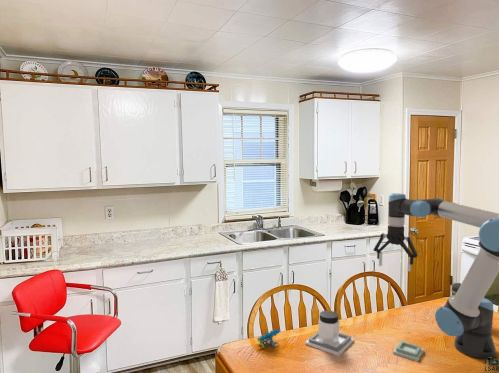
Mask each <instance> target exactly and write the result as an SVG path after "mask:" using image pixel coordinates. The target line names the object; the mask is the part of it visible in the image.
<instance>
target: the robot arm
mask: <svg viewBox="0 0 499 373" xmlns="http://www.w3.org/2000/svg"><path fill="white" fill-rule="evenodd" d="M387 202H388V203H387V204H388V208H387V209H388V216H387V233H384V232H382V233H381V234H380V237H379V240H378V241H377V242H376V244H375V246H374V248H373V251H374V252H376V255H377V256H376V257H377V258H376V259H377V260H378V267H382V266H383V252H382V251H383V250H384V249H385V248H387V246H389V244H391V245H397V246H400V247H401V248H402V249H403V251H404V252H405V253H406V254H407V255H408V258H407V272H411V271H412V265H414V258H418V256H419V254H418V252H417V249H416V248H415V245H414V244H413V241H412V237H411V236H405V225H406V223H405V222H406V221H405V220H406V218H405V217H406V216H411V217H414V218H422V219H423V218H426V217H427V216H431V215H432V216H437V217H440V218H444V219H447V220H451V221H455V222H459V223H462V224H464V225H465V224H466V225H468V226H469V225H470V226H471V227H472V226H473V227H477V228H479V229H478V237H479V240H478V247H479V248H480V249H479V251H478V253H477V255H475V256H476V257H475V259H474V260H473V262H472V264H471V266H470V268H469V269H468V271H467V273H466V275H465V277H464V278H463V280H462V282H461V283H460V284H461V285H460V287H459V289H458V291H457V293H456V295H452V294H451V295H450V296H449V297H448V299H447V300H446V302H445V304H444V305H443V306H440V307H439V308H437V309H436V311H435V312H434V319H435V322H436V325H437V327H438V328H439V329H440V330H441V331H442V332H443V333H444V334H445V335H447V336H450V337H455V339H454V343H453V344H454V347H455V349H456V350H457V351H458V352H460V353H462V354H464V355H466V356H469V357H472V358H475V359H480V360H481V359H483V360H488V359H487V358H488V357H494V358H495V357H496V353H497V352H496V351H497V349H496V345H495V342H494V339H493V333H492V332H493V324H494V322H493V320H494V311H495V310H494V303H493V302H492V301H491V300H489V299H487V298H485V296H486V295H487V293H488V291H489V289H490V288H491V287H492V285H493V283H494V282H495V279H496V278H497V276H498V274H499V213H497V212H493V211H491V210H490V211H489V210H485V209H481V208H476V207H472V206H467V205H464V204H459V203H455V202H451V201H446V200H444V199H443V198H439V197H438V198H436V197H434V198H426V199H425V198H423V199H408V198H407V196H406V194H405V193H398V192H396V193H395V192H394V193H390V194H389V195H388V201H387ZM385 238H386V239H387V241H386V242H385V243H384V244H383V245H382V242H383V240H384V239H385ZM405 241H406V242H407V244H408V246H409V247H408V246H407V245H406V243H405ZM381 245H382V246H381ZM380 246H381V247H380Z"/></svg>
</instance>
